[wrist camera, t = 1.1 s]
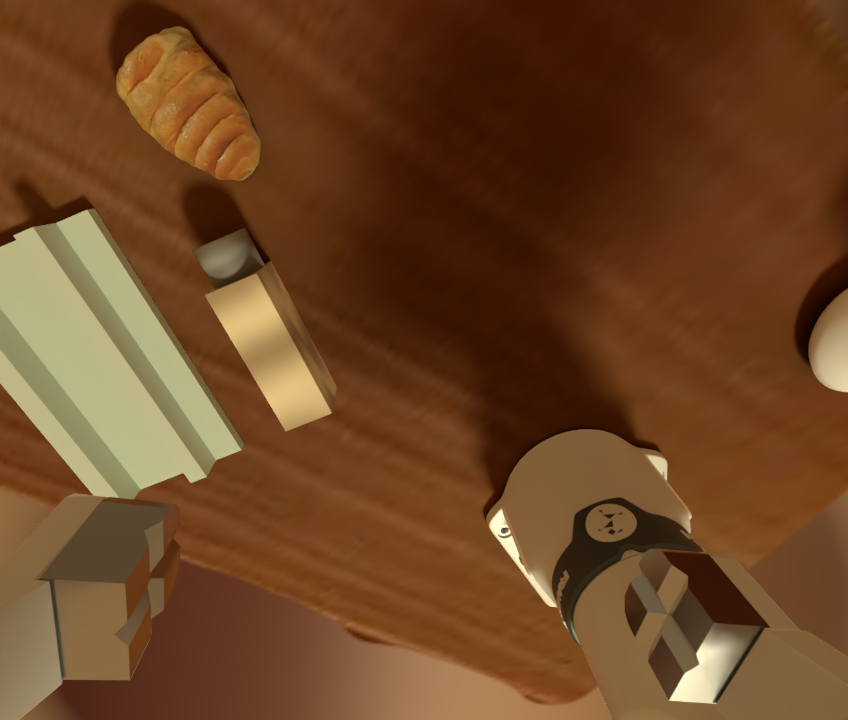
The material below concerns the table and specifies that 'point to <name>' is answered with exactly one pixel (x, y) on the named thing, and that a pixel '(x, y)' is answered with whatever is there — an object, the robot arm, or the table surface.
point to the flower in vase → (831, 345)
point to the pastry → (189, 105)
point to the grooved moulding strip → (102, 363)
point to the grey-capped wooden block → (267, 330)
